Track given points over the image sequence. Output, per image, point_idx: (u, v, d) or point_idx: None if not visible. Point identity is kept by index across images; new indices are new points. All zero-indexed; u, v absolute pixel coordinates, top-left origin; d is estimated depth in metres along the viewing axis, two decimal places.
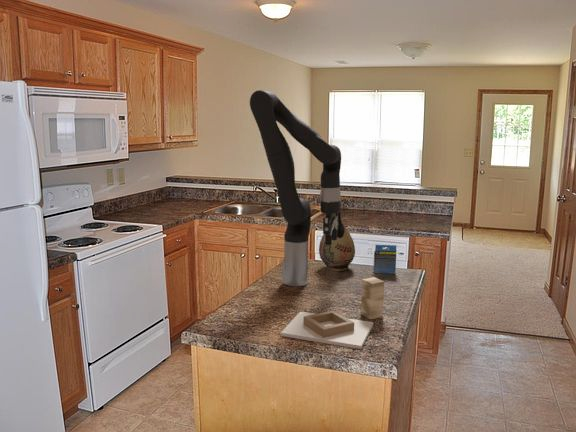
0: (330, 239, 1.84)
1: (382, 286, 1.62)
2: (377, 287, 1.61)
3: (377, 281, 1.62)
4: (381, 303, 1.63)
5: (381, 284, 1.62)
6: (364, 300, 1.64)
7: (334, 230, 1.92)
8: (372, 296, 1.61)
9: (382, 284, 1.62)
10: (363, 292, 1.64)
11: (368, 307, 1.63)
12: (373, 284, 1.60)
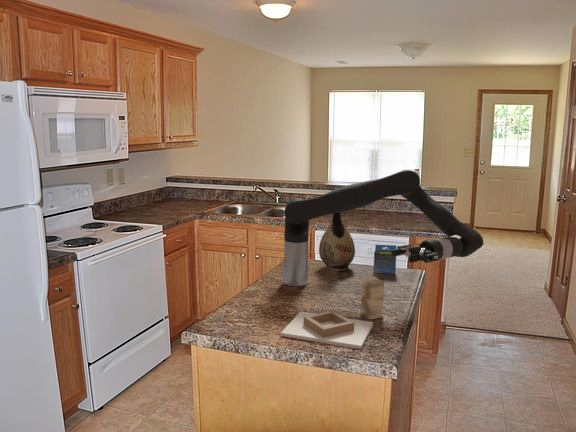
0: (415, 261, 1.65)
1: (382, 286, 1.62)
2: (377, 287, 1.61)
3: (377, 281, 1.62)
4: (381, 303, 1.63)
5: (381, 284, 1.62)
6: (364, 300, 1.64)
7: (400, 252, 1.73)
8: (372, 296, 1.61)
9: (382, 284, 1.62)
10: (363, 292, 1.64)
11: (368, 307, 1.63)
12: (373, 284, 1.60)
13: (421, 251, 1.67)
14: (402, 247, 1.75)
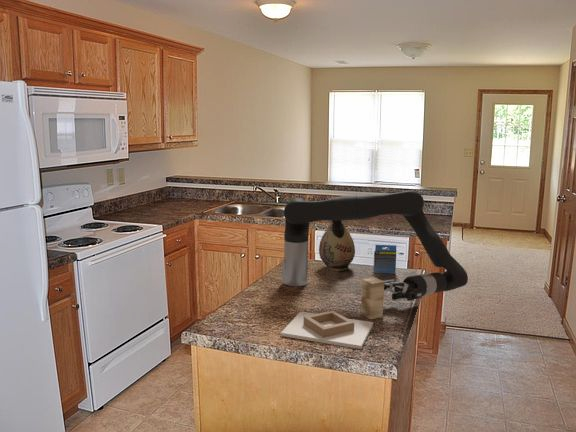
0: (398, 298, 1.64)
1: (382, 286, 1.62)
2: (377, 287, 1.61)
3: (377, 281, 1.62)
4: (381, 303, 1.63)
5: (381, 284, 1.62)
6: (364, 300, 1.64)
7: (384, 288, 1.72)
8: (372, 296, 1.61)
9: (382, 284, 1.62)
10: (363, 292, 1.64)
11: (368, 307, 1.63)
12: (373, 284, 1.60)
13: (404, 288, 1.66)
14: (386, 282, 1.75)
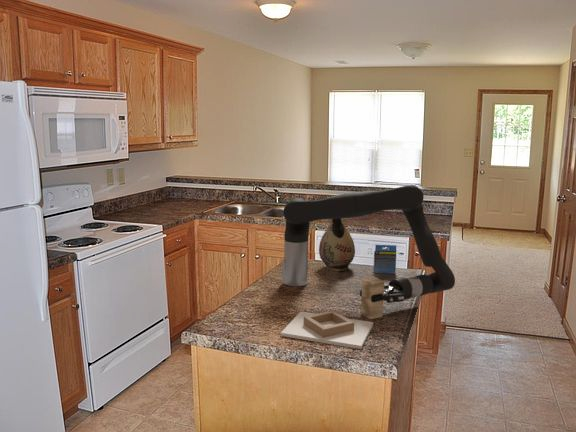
0: (377, 300, 1.61)
1: (382, 286, 1.62)
2: (377, 287, 1.61)
3: (377, 281, 1.62)
4: (381, 303, 1.63)
5: (381, 284, 1.62)
6: (364, 300, 1.64)
7: None
8: None
9: (382, 284, 1.62)
10: (363, 292, 1.64)
11: (368, 307, 1.63)
12: (373, 284, 1.60)
13: (386, 290, 1.64)
14: None
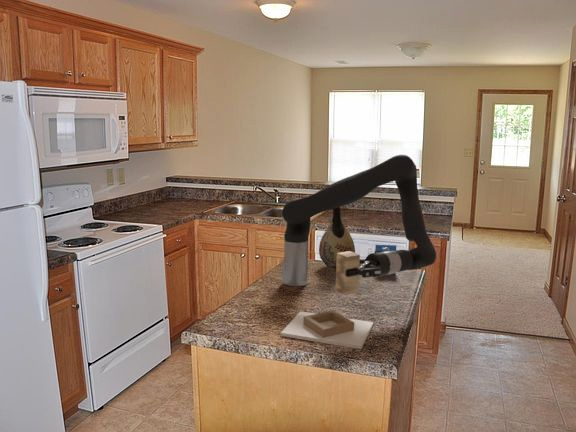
0: None
1: (357, 260, 1.52)
2: (352, 260, 1.51)
3: (352, 255, 1.52)
4: (357, 278, 1.54)
5: (356, 258, 1.52)
6: (339, 275, 1.54)
7: None
8: None
9: (357, 258, 1.52)
10: (338, 266, 1.54)
11: (342, 282, 1.53)
12: (348, 257, 1.50)
13: (362, 265, 1.54)
14: None
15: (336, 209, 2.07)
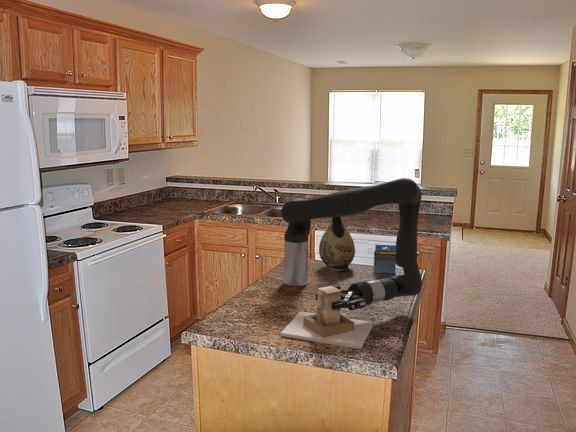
0: None
1: (339, 296, 1.50)
2: (333, 297, 1.49)
3: (333, 291, 1.49)
4: (338, 314, 1.51)
5: (338, 294, 1.49)
6: (320, 311, 1.52)
7: None
8: (328, 307, 1.48)
9: (339, 293, 1.50)
10: (319, 302, 1.52)
11: (323, 318, 1.50)
12: (328, 294, 1.48)
13: (347, 296, 1.50)
14: None
15: None
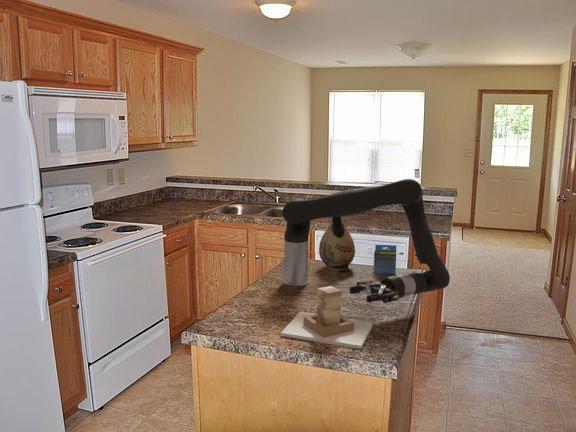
0: (373, 300, 1.54)
1: (338, 296, 1.50)
2: (333, 297, 1.49)
3: (333, 290, 1.49)
4: (338, 314, 1.51)
5: (337, 294, 1.49)
6: (320, 311, 1.52)
7: (360, 290, 1.62)
8: (328, 307, 1.48)
9: (339, 293, 1.50)
10: (319, 302, 1.52)
11: (323, 318, 1.50)
12: (328, 294, 1.48)
13: (380, 290, 1.57)
14: (362, 283, 1.65)
15: None
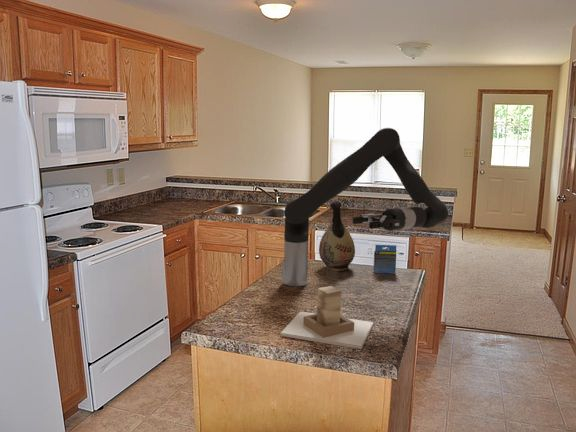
0: (375, 227, 1.61)
1: (338, 296, 1.50)
2: (333, 297, 1.49)
3: (333, 290, 1.49)
4: (338, 314, 1.51)
5: (337, 294, 1.49)
6: (320, 311, 1.52)
7: (362, 220, 1.69)
8: (328, 307, 1.48)
9: (339, 293, 1.50)
10: (319, 302, 1.52)
11: (323, 318, 1.50)
12: (328, 294, 1.48)
13: (382, 218, 1.64)
14: (364, 215, 1.72)
15: (336, 209, 2.07)
